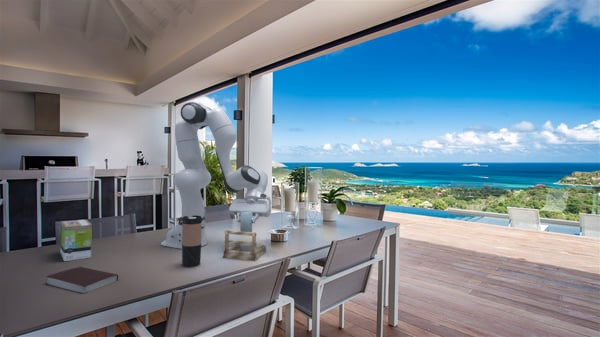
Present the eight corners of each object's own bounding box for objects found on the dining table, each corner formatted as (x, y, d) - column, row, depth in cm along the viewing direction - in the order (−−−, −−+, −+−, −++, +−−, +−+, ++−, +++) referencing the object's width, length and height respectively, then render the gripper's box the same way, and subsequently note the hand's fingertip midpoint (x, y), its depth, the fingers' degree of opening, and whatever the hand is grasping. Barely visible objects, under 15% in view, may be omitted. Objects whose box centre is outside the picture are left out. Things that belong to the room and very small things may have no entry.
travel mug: (194, 268, 132) (195, 219, 131) (177, 266, 133) (178, 217, 133) (204, 262, 139) (205, 215, 139) (187, 260, 141) (188, 214, 140)
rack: (223, 257, 147) (223, 231, 146) (236, 248, 161) (237, 224, 161) (254, 260, 143) (255, 233, 143) (265, 251, 158) (266, 226, 158)
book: (81, 273, 124) (81, 265, 124) (118, 281, 117) (118, 272, 117) (45, 285, 112) (45, 276, 112) (84, 295, 105) (84, 285, 105)
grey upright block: (238, 234, 150) (238, 212, 150) (243, 231, 155) (243, 210, 155) (249, 235, 149) (249, 213, 148) (253, 232, 154) (254, 211, 154)
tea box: (92, 257, 141) (92, 223, 141) (63, 262, 135) (63, 226, 134) (86, 249, 153) (86, 218, 152) (59, 253, 146) (60, 220, 146)
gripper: (232, 193, 161) (223, 216, 151) (271, 195, 156) (265, 219, 147) (235, 201, 165) (227, 224, 156) (274, 203, 161) (268, 227, 151)
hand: (245, 222), depth 151 cm, fingers closed on grey upright block, 5 cm apart
